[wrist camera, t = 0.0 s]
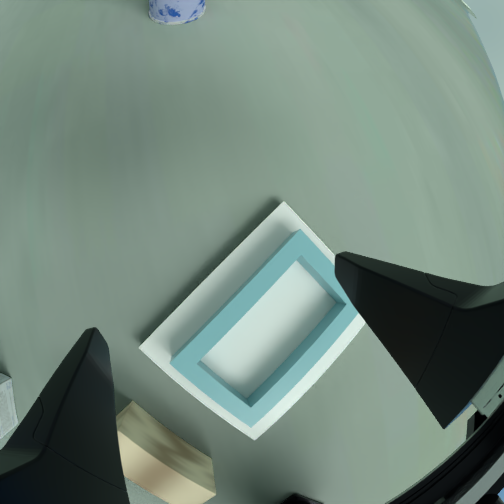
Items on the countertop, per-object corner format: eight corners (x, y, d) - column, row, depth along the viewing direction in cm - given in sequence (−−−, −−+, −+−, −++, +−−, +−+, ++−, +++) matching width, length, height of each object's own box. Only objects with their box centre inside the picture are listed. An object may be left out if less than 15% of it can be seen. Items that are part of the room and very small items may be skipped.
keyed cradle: (372, 305, 27) (390, 307, 24) (252, 435, 23) (259, 451, 20) (280, 203, 26) (291, 194, 23) (140, 344, 22) (133, 353, 19)
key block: (211, 458, 23) (216, 494, 17) (186, 476, 22) (187, 512, 16) (132, 399, 22) (118, 430, 16) (110, 421, 21) (93, 452, 15)
